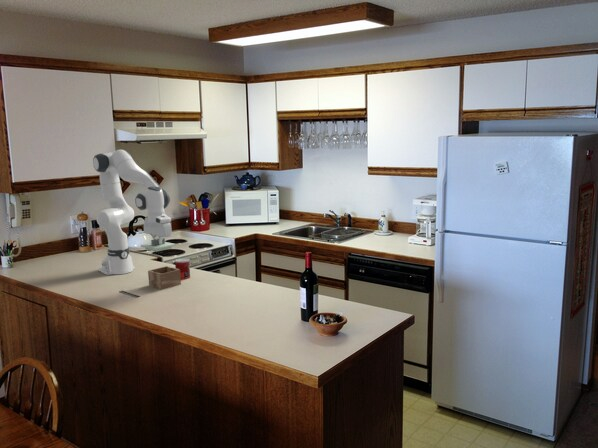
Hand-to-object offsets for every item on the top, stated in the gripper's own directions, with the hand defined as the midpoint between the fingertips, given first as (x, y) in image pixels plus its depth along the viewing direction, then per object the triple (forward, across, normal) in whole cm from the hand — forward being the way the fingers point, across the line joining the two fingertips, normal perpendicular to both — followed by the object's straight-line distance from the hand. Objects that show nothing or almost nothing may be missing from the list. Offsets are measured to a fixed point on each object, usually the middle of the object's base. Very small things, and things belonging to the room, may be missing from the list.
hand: (158, 243), depth 290 cm
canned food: (+24, -3, +17) cm, 30 cm away
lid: (+3, 0, 0) cm, 3 cm away
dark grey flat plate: (+24, -2, -11) cm, 26 cm away
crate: (+24, +1, +2) cm, 24 cm away
